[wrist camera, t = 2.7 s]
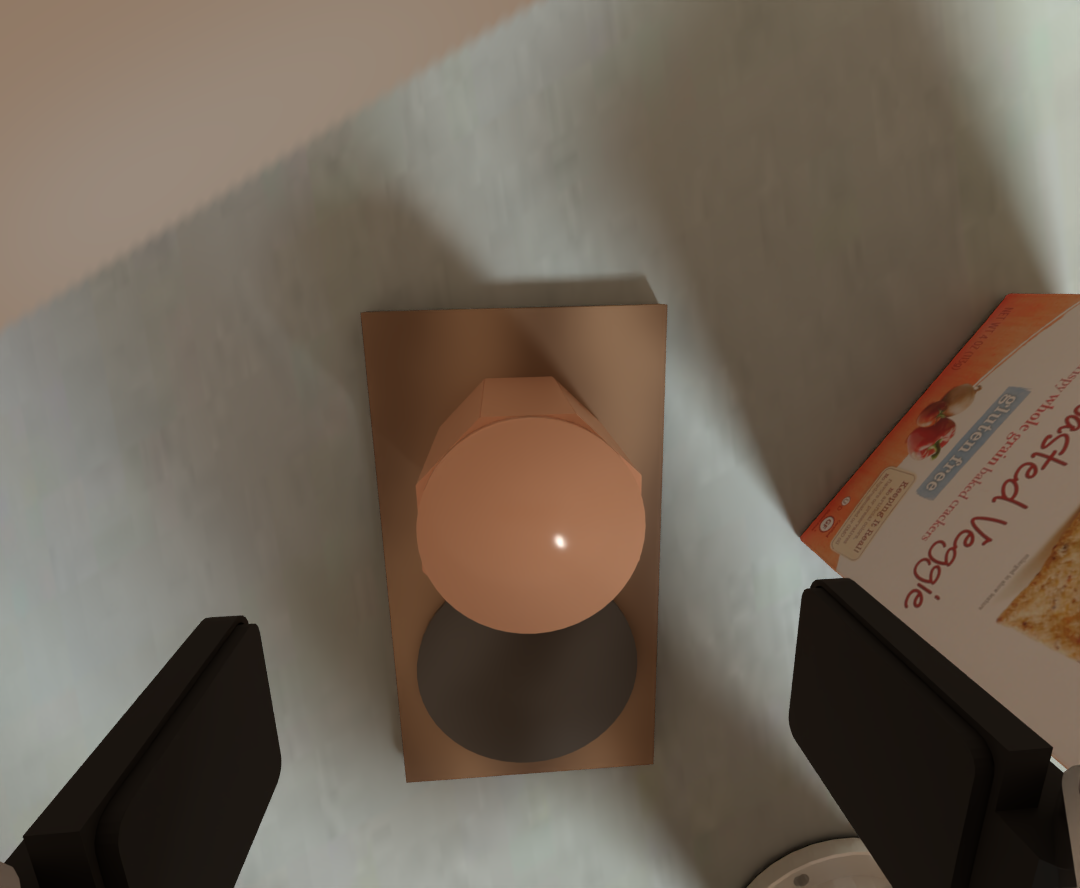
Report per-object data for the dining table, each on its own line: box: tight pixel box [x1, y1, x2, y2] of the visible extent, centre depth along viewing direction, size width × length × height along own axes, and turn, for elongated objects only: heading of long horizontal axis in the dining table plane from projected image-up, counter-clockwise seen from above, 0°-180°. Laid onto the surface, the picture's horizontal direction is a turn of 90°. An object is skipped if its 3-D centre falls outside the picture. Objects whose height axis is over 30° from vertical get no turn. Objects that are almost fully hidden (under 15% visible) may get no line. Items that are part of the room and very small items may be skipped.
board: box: [361, 304, 667, 783], centre depth 27 cm, size 12×22×2 cm, turn 1°
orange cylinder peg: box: [416, 376, 646, 634], centre depth 21 cm, size 7×7×8 cm
